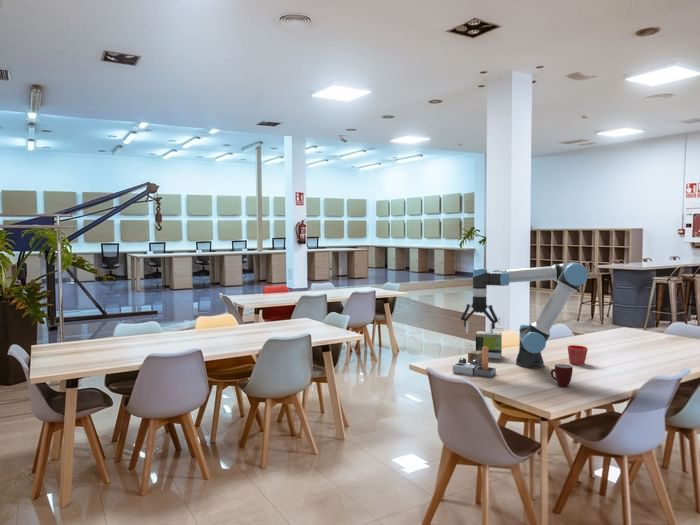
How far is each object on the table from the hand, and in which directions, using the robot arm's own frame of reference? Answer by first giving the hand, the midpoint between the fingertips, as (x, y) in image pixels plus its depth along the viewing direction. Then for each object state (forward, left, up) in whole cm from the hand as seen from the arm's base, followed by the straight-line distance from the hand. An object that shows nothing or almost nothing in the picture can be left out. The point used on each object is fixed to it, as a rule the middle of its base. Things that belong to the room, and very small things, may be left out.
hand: (479, 333), depth 290 cm
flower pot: (-46, -38, -19) cm, 63 cm away
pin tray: (-7, +13, -19) cm, 24 cm away
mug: (-45, +14, -19) cm, 51 cm away
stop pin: (-7, +13, -19) cm, 23 cm away
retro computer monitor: (+3, -29, -19) cm, 35 cm away
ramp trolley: (+3, +12, -19) cm, 23 cm away
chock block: (+4, -7, -19) cm, 21 cm away
